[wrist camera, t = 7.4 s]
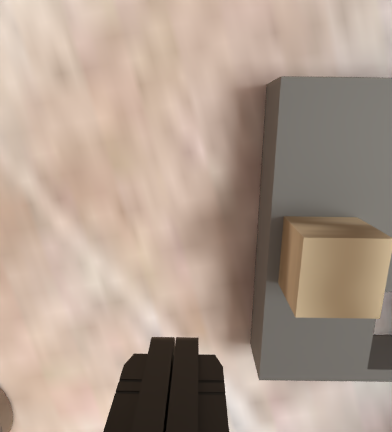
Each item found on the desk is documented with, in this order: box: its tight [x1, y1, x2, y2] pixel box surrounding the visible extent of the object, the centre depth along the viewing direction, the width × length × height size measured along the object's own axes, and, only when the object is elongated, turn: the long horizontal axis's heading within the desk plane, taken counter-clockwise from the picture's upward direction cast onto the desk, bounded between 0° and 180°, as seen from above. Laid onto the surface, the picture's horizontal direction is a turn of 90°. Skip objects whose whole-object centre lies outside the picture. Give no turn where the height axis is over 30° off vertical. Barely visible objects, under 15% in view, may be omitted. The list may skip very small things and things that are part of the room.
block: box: [278, 216, 392, 319], centre depth 19 cm, size 4×4×4 cm
